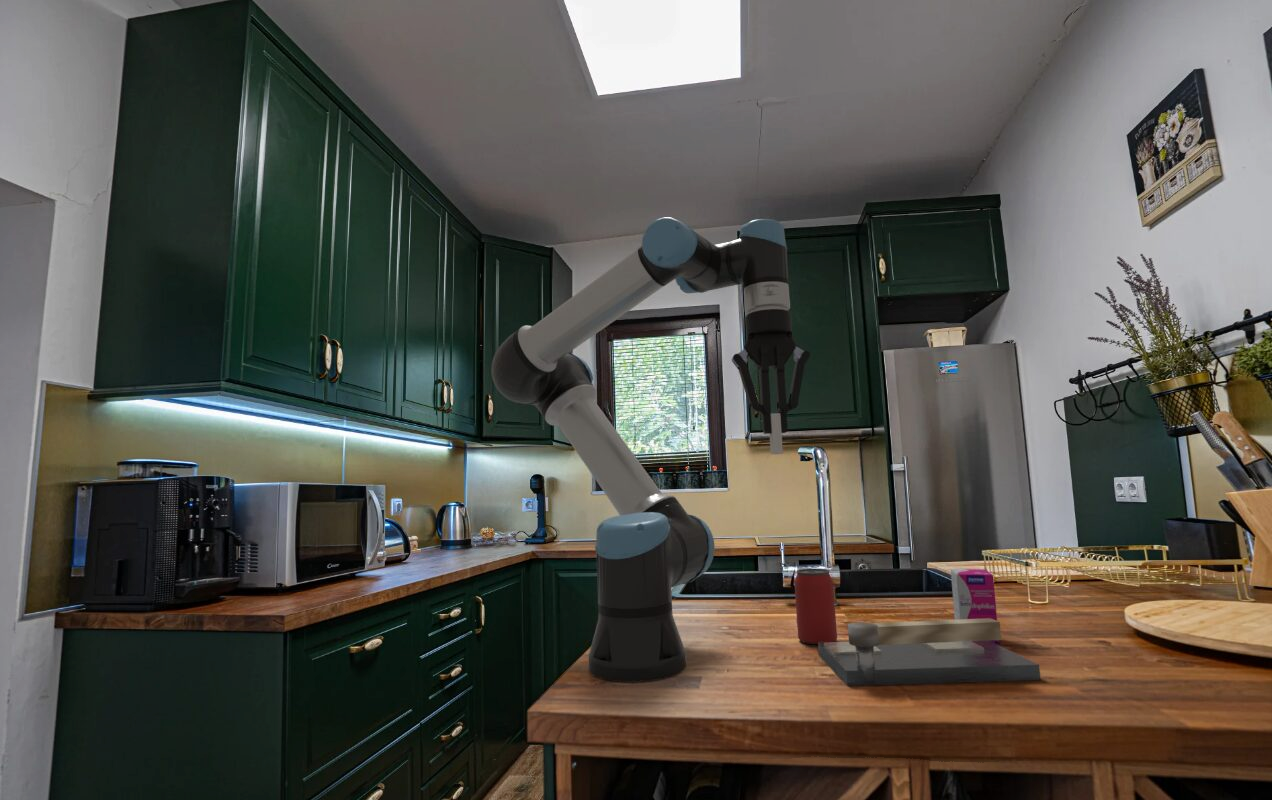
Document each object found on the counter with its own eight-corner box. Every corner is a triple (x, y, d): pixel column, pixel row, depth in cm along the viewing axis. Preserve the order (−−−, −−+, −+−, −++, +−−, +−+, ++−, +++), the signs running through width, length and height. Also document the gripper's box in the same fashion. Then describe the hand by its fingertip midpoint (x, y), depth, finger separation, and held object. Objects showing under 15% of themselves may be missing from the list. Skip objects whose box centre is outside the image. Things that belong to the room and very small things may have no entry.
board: (847, 686, 90) (846, 667, 91) (818, 655, 106) (817, 639, 106) (1040, 680, 90) (1038, 661, 90) (982, 649, 106) (981, 634, 106)
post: (861, 686, 90) (858, 648, 91) (855, 680, 92) (853, 643, 93) (878, 685, 90) (875, 647, 91) (873, 680, 92) (870, 643, 93)
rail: (854, 647, 90) (853, 629, 90) (845, 640, 94) (843, 623, 94) (1004, 641, 90) (1002, 623, 90) (989, 634, 94) (987, 617, 94)
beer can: (790, 640, 117) (786, 570, 118) (820, 635, 119) (815, 567, 121) (815, 647, 111) (810, 574, 112) (845, 642, 114) (840, 570, 115)
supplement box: (961, 644, 109) (955, 573, 111) (955, 635, 115) (949, 568, 116) (1000, 645, 108) (993, 573, 109) (992, 636, 113) (985, 568, 115)
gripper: (731, 308, 108) (739, 454, 105) (811, 305, 107) (822, 451, 104) (726, 319, 115) (734, 456, 112) (801, 316, 115) (811, 453, 112)
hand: (776, 453), depth 108 cm, fingers closed
